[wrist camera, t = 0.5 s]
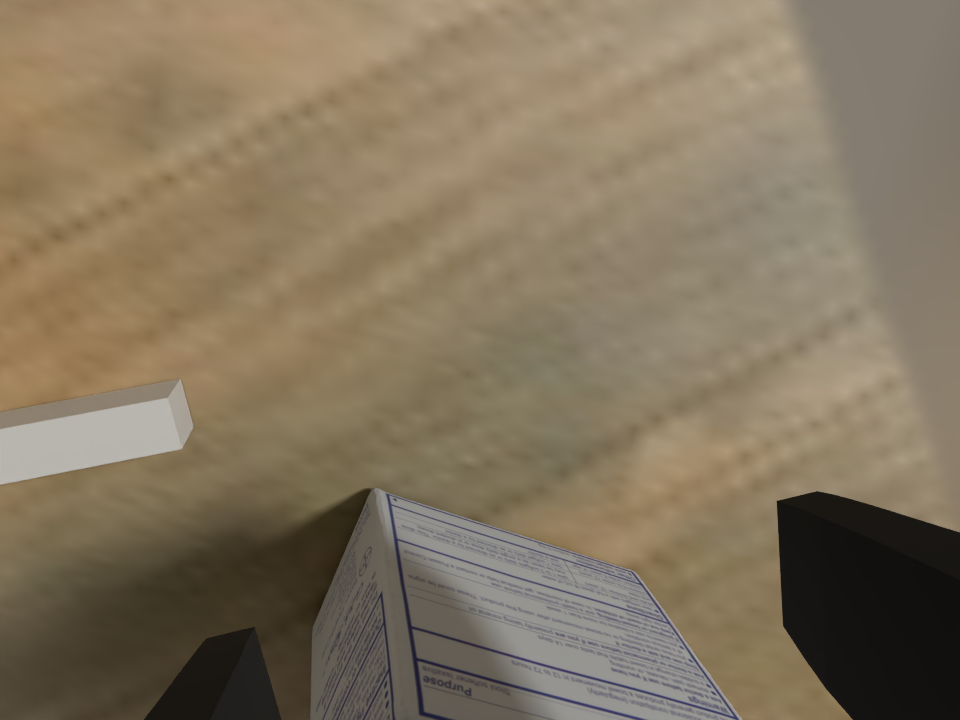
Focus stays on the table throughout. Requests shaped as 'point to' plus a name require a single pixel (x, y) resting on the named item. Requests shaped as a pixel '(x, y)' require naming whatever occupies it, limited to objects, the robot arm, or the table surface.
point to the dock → (93, 430)
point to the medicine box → (493, 630)
